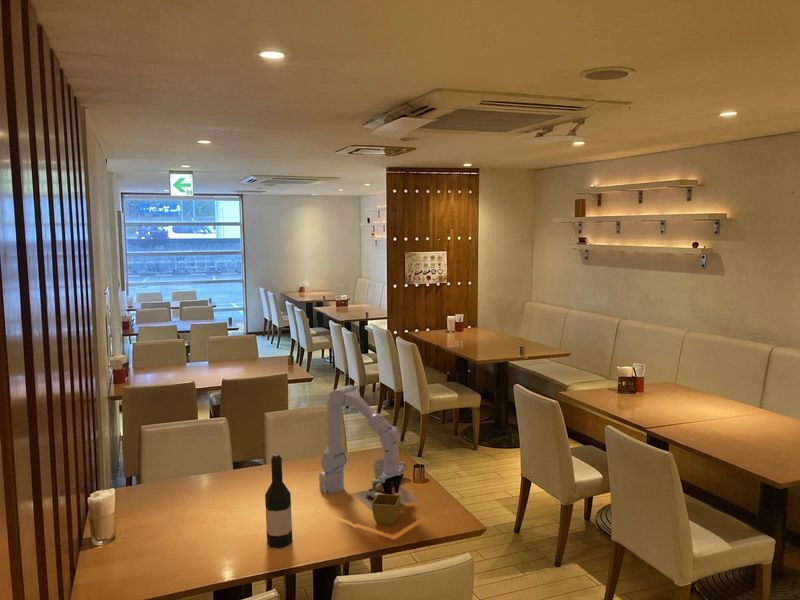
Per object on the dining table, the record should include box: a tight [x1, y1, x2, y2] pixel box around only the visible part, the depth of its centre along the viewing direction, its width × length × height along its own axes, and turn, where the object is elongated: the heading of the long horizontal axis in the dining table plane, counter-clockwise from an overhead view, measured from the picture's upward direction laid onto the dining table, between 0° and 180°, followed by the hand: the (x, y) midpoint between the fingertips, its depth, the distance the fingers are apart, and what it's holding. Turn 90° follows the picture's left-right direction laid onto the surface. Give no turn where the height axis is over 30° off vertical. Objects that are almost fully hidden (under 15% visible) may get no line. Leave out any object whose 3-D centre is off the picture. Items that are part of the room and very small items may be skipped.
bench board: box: [351, 485, 421, 512], centre depth 235 cm, size 20×19×1 cm
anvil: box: [371, 478, 380, 491], centre depth 242 cm, size 4×2×4 cm, turn 108°
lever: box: [366, 485, 395, 498], centre depth 232 cm, size 13×3×6 cm, turn 53°
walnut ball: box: [375, 483, 384, 493], centre depth 239 cm, size 4×4×4 cm
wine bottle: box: [264, 453, 293, 549], centre depth 201 cm, size 8×8×30 cm
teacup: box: [373, 457, 408, 479], centre depth 255 cm, size 14×11×8 cm
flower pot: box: [371, 494, 401, 526], centre depth 213 cm, size 9×9×9 cm
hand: (392, 495), depth 229 cm, fingers open, 4 cm apart
